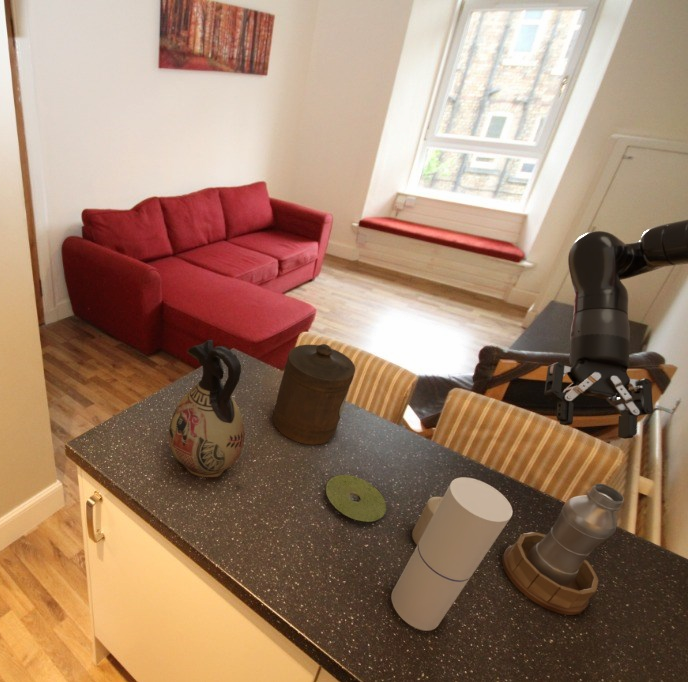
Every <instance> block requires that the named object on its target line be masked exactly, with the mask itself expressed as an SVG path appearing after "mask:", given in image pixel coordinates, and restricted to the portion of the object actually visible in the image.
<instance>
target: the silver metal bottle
mask: <svg viewBox="0 0 688 682" xmlns="http://www.w3.org/2000/svg"><path fill="white" fill-rule="evenodd" d="M624 501H625V497H624V496H623V494H622V493H621V492H620V491H618V490H617V489H615V487H612V486H610V485H608V484H605V483H599V482H598V483H595V484H594V485H592V487H591V488H590V489H588V490H587V492H586V494H585V495H577V496H573V497H571V498H569V499H568V500H566V501H565V502H564V504H563V506H562V508H561V510H560V513H559V515H558V517H557V519H556V521H555V523H554V524H553V526H552V527H551V529H550V531H549V532H548V533H547V534H545V535H546V536H545V537H544V538H543V539H542V540H541V541H540V542H539V543H537V544H536V545H535V546H533V547H532V548H531V549H530V550H529V552H528V555H527V557H526V558H527V559H528V561H529V562H530V563H531V564H532V565H533V566H534V567H535V568H536V569H537V570H538V571H539V572H540V573H541V574H543V575H544V576H546V577H548V578H549V579H551V580H552V581H554V582H556V583H557V584H559V585H561V586H564V587H565V586H567V585H569V584H570V583H572V582H573V581H574V580H575V578H576V576H577V573H578V571H579V568H580V567H581V565H582V563H583V562H584V560H587V559H586V558H588V556H589V555H590V554H591V553H592V552H593V551H595V549H596V548H597V547H598V546H599V545H601V544H602V543H603V542H605V541H606V540H607V539H609V538H611V537H612V536H613V534H615V533H616V531H617V527H618V518H617V515H616V512H617V511H619V509H621V505H622V504H623V503H624Z"/></svg>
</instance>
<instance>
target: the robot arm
mask: <svg viewBox="0 0 688 682" xmlns="http://www.w3.org/2000/svg"><path fill="white" fill-rule="evenodd" d="M567 259H568V260H567V265H568V271H569V276H570V280H571V285H572V288H573V292H574V301H573V315H572V316H573V319H572V322H571V325H570V327H571V328H570V333H569V336H570V340H569V357H568V358H569V359H568V363H569V364H570V365H565V363H564V362H563V361H558V362H555V363H553V364H550V365H547V371H546V378H545V385H544V386H545V387H544V391H543V395H544V396H545V397H546V398H551V399H553V400H555V401H556V420H557V421H559V425H561V426H571V425H573V423H574V408H575V407H574V404H575V402H572V401H574V400H575V399H576V398H577V397H578V396H579V395H582V396H587V397H589V396H590V397H591V396H592V397H595V398H597V399H601V400H605V399H606V401H607V402H608V403H609V404H610V405H611V406H613V407H614V408H615V409H616V411H617V412H618V413H619V414H620V415H618V421H617V423H618V425H617V426H618V428H617V430H618V431H617V437H618V438H619V439H625V440H626V439H632V438H634V436H636V435H637V433H638V417H640V416H646V415H652V414H653V413H654V404H653V389H652V387H653V386H652V381H651V380H650V379H649V378H641V379H639V378H638V379H637V378H630V377H629V376H630V375H628V372H627V371H628V368H629V366H630V346H631V345H630V342H631V341H630V339H631V335H630V333H631V327H630V320H629V293H628V289H627V288H626V286H625V285H624V284H623V282H622V281H623V280H626V279H631V278H634V277H636V276H640V275H644V274H647V273H650V272H653V271H656V270H659V269H662V268H666V267H674V266H680V265H681V266H682V265H688V219H684V220H683V219H682V220H679V221H674V222H669V223H665V224H660V225H656V226H653V227H651V228H649V229H647V230H646V231H644V232H643V234H642V236H641V237H640V240H639V241H635V242H631V243H625V242H624V241H622V240H621V239H619V238H618V237H617V236H616V235H614V234H612V233H610V232H608V231H603V230H595V231H590V232H586V233H585V234H583V235H581V236H579V237H578V238H577V239H576V240H575V241H574V242H573V244H572V245H571V246H570V249H569V252H568V258H567ZM566 376H568V378H569V379H570V381H571V382H572V383H570V384H569V385H568V386H566V387H565V388H564V390H563V391H562V389H563V388H562V387H563V381H564V377H566ZM626 387H628V390H627V388H626ZM630 392H631V393H630ZM617 395H618V396H619V397H618V396H617Z"/></svg>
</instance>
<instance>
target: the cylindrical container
mask: <svg viewBox="0 0 688 682" xmlns="http://www.w3.org/2000/svg"><path fill="white" fill-rule="evenodd" d="M442 497H443V499H442V500H441V502H440V504H439V506H438V508H437V510H436V512H435V513H434V515H433V517H432V519H431V521H430V523H429V524H428V526H427V528H426V530H425V532H424V534H423V536H422V537H421V539H420V541H419V543H418V545H417V544H416V546H415V549H414V551H413V553H412V554H411V556H410V558H409V560H408V562H407V563H406V566H405V567H404V569H403V571H402V572H401V575H400V576H399V579H398V580H397V582H396V584H395V586H394V587H393V589H392V592H391V595H390V597H391V598H390V599H391V603H392V607H393V608H394V610H395V612H396V613H397V615H398V616H399V617H400V618H401V619H402V620H403V621H404V622H405V623H406V624H408V625H409V626H411V627H412V628H415V629H417V630H419V631H426V632H427V631H428V632H429V631H433V630H435V629H437V628H438V627H439V625H440V624H441V623H442V621H443V619H444V618H445V616H446V614H447V613H448V612H449V610H450V609H451V608H452V606H453V604H454V603H455V601H456V600H457V598H458V597H459V596H460V594H461V592H462V591H463V589H464V588H465V587H466V585H467V583H468V582H469V580H470V579H471V578H472V577H473V574H474V573H475V571H476V570H477V569H478V567H479V566H480V564H481V563H482V561H483V560H484V558H485V557H486V555H487V553H488V552H489V551H490V549H491V547H492V546H493V545H494V543H495V542H496V540H497V539H498V537H499V535H500V534H501V533H502V531H503V530H504V528H505V527H506V525H507V524H508V523H509V521H510V520H511V518H512V516H513V507H512V505H511V503H510V502H509V500H508V499H507V497H505V495H504V494H503V493H502V492H500V491H499V490H497V488H495V487H493V486H492V485H490V484H488V483H486V482H484V481H482V480H479V479H476V478H472V477H465V476H463V477H462V476H461V477H457V478H454V479H452V481H451V482H450V484H449V486H448V488H447V490H446V491H445V492H444V495H443V496H442Z"/></svg>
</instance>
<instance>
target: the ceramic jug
mask: <svg viewBox="0 0 688 682" xmlns="http://www.w3.org/2000/svg"><path fill="white" fill-rule="evenodd" d="M186 352H187V354H189V355H190V356H192V357H193V358H195V360H197V362H198V363H199V364H200V365H201V366H202V377H201V379H200V380H199V381H198V383H197V384H196V385H194V386H193V387H192V388H191V389H190V390H189V391H188V392H187V393H186V395H184V396H183V397H182V399H181V400H180V401H179V402H178V404H177V405H176V407H175V409H174V412H173V414H172V416H171V420H170V423H169V427H168V443H169V447H170V450H171V452H172V455H173V456H174V457H175V459H176V460H177V461H178V462H179V463H180V464H182V465H183V466H184V467H185V469H186V470H187V471H188V472H190V474H192V475H194V476H197V477H201V478H216V477H220V476H222V474H223V473H224V471H225V470H227V469H229V468H230V467H231V466H233V465H234V463H235V462H236V461H237V460H238V458H239V457H240V456H241V453H242V452H243V448H244V444H245V435H246V434H245V433H246V432H245V425H244V421H243V416H242V413H241V411H240V408H239V406H238V405H237V402H236V401H235V399H234V397H233V396H232V395H233V393H234V391H235V389H236V388H237V386H238V385H239V382H240V379H241V373H242V364H241V361H240V360H239V359H238V356H237V355H236V354H235V353H234V352H232V350H231V349H230V348H229V347H227V346H224V345H218V346H215V347H214V340H213V339H209V340H206V341H205V342H203V343H200V344H198V345H197V344H195V345H193V346H191V347H189V348H188V349H186ZM221 361H222V362H223V364H224V365H225V366H226V368H227V379H226V381H225V382H224V384H223V383H222V380H223V379H224V376H225V375H224V373H225V372H224V366H223V364H222V362H221Z"/></svg>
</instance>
